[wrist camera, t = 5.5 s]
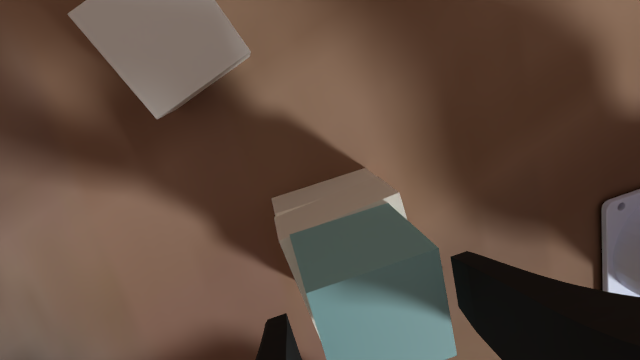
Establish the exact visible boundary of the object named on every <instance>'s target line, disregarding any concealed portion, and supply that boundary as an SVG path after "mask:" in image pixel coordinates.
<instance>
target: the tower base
mask: <svg viewBox="0 0 640 360" xmlns="http://www.w3.org/2000/svg"><path fill="white" fill-rule="evenodd" d="M374 177H377V176H376V175H374V174H373V173H372V172H370V171H369V170H368V169H367V168H363V169H360V170H357V171H354V172H351V173H348V174H345V175H341V176H338V177H335V178H332V179H329V180H326V181H323V182H320V183H317V184H314V185H311V186H308V187H304V188H301V189H298V190H295V191H292V192H289V193H286V194H283V195H280V196H277V197H274V198H271V199H272V204H273V208H274V213H275V216H279V215H281V214H284V213H286V212H289V211H291V210H294V209H296V208H299V207H302V206H304V205H307V204H309V203H312V202H314V201H317V200H319V199H321V198H324V197H326V196H329V195H331V194H334V193H337V192H339V191H342V190H344V189H347V188H349V187H352V186H354V185H357V184H359V183H362V182H364V181H367V180H369V179H372V178H374Z"/></svg>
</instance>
